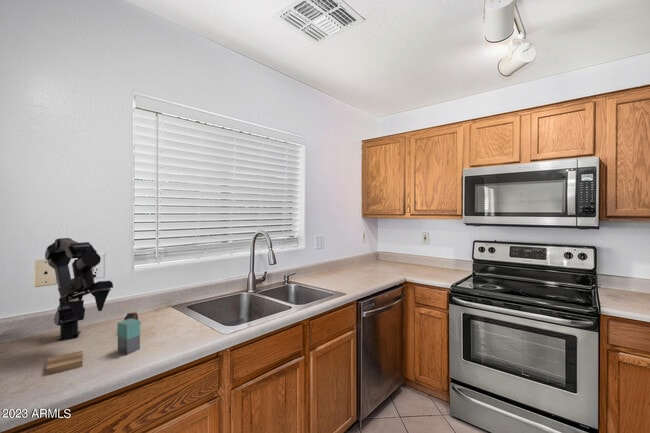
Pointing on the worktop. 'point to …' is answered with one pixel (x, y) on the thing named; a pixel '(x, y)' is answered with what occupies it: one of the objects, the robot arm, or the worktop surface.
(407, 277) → the worktop surface
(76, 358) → the stand
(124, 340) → the teal block grey base
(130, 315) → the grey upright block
